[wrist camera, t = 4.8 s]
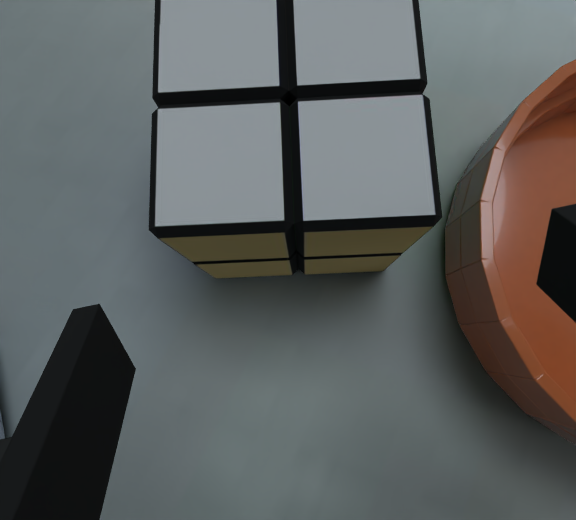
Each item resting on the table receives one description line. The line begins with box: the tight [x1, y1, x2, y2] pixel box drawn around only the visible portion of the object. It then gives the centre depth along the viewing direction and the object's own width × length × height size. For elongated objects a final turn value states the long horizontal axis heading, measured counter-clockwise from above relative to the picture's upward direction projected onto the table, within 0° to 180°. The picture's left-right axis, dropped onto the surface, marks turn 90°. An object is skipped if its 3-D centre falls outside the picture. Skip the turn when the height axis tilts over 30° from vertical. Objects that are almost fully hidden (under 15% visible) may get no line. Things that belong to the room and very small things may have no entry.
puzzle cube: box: [149, 0, 442, 278], centre depth 20 cm, size 10×10×10 cm
